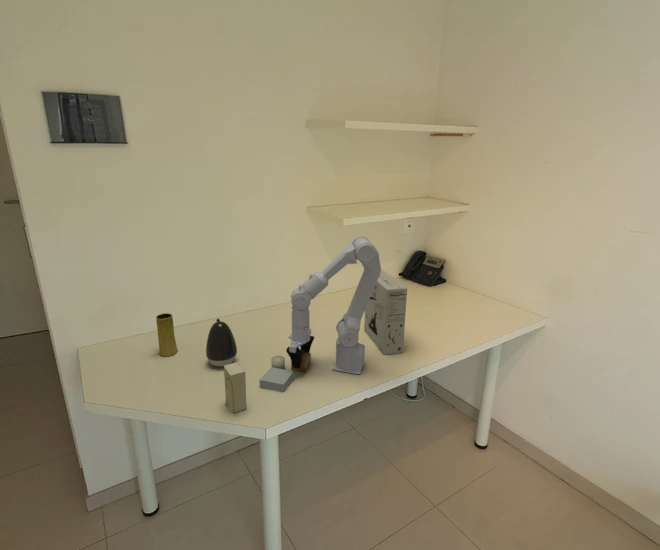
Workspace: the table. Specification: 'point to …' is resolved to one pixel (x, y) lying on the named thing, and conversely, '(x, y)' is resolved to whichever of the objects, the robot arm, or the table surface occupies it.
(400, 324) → the product box
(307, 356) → the walnut cube
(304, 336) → the robot arm
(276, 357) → the grey rounded lump
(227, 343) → the black egg shape
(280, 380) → the slate plinth
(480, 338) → the table surface
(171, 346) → the vase
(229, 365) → the skincare box
